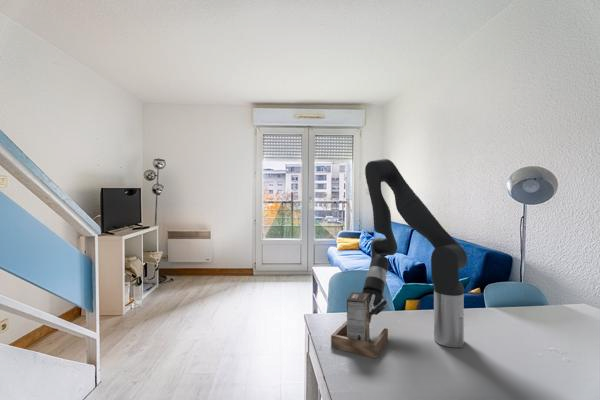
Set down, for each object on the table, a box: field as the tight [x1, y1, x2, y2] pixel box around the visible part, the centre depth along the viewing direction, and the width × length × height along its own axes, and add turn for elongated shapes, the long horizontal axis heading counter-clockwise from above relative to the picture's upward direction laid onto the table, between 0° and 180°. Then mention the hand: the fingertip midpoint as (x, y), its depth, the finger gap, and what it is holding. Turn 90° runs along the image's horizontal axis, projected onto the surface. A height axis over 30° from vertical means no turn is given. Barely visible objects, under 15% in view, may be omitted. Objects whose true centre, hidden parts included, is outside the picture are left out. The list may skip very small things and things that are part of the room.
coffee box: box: [346, 291, 371, 342], centre depth 112 cm, size 9×6×16 cm
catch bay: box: [330, 320, 389, 359], centre depth 111 cm, size 15×14×4 cm
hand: (365, 323), depth 116 cm, fingers closed
